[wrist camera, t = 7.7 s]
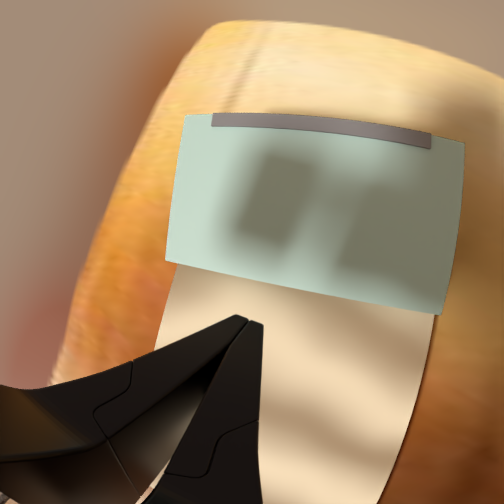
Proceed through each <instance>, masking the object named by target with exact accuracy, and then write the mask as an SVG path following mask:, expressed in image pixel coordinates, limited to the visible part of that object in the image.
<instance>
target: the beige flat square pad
mask: <svg viewBox="0 0 504 504" xmlns="http://www.w3.org/2000/svg"><path fill="white" fill-rule="evenodd" d="M234 314H238V315H240V316H243V317H246V318H248V319H249V321H250V320H254V321H256V322H259V323H262V324H263V325H264V337H263V359H262V379H261V399H260V417H259V443H258V455H259V470H260V480H261V489H262V498H263V504H377V502H378V500H379V497H380V495H381V493H382V491H383V489H384V487H385V484H386V482H387V480H388V477H389V475H390V473H391V470H392V468H393V465H394V463H395V460H396V458H397V455H398V452H399V450H400V447H401V444H402V442H403V439H404V436H405V433H406V430H407V427H408V424H409V421H410V418H411V414H412V411H413V408H414V404H415V401H416V397H417V394H418V390H419V386H420V383H421V379H422V375H423V370H424V366H425V362H426V357H427V353H428V348H429V343H430V338H431V332H432V326H433V321H434V314H429V313H423V312H417V311H412V310H406V309H400V308H395V307H389V306H384V305H378V304H373V303H367V302H362V301H357V300H351V299H346V298H341V297H336V296H330V295H325V294H320V293H315V292H310V291H305V290H300V289H295V288H290V287H285V286H280V285H276V284H271V283H266V282H261V281H256V280H252V279H247V278H242V277H238V276H233V275H228V274H224V273H219V272H215V271H210V270H205V269H201V268H196V267H192V266H188V265H183V264H179V263H178V265H177V268H176V272H175V275H174V279H173V282H172V285H171V289H170V292H169V296H168V300H167V303H166V307H165V310H164V314H163V318H162V321H161V325H160V329H159V333H158V337H157V341H156V345H155V348H154V351H155V350H157V349H159V348H162V347H164V346H166V345H168V344H171V343H173V342H175V341H177V340H180V339H182V338H184V337H186V336H189V335H191V334H193V333H195V332H197V331H200V330H202V329H204V328H206V327H208V326H211V325H213V324H215V323H217V322H219V321H221V320H223V319H226V318H228V317H230V316H232V315H234ZM169 461H170V460H169ZM168 463H169V462H168ZM168 463H167V464H166V466H165V467H164V468H163V469H162V471H161V472H160V473H159V474H158V476H157V477H156V478H155V480H154V481H153V482H152V483H151V485H150V487H152V488H155V486H156V485H157V483H158V481H159V480H160V478H161V476H162V475H163V474H164V470H165V469H166V467H167V465H168Z"/></svg>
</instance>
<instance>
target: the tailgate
mask: <svg viewBox="0 0 504 504" xmlns="http://www.w3.org/2000/svg"><path fill="white" fill-rule="evenodd" d="M464 155H465V143H463V142H459V141H455V140H451V139H446V138H442V137H438V136H433V135H431V134H430V133H425V132H421V131H416V130H411V129H405V128H400V127H394V126H388V125H382V124H376V123H369V122H362V121H354V120H346V119H337V118H328V117H317V116H304V115H289V114H268V113H213V114H198V115H185V120H184V126H183V131H182V137H181V143H180V149H179V155H178V161H177V168H176V174H175V181H174V188H173V196H172V203H171V211H170V219H169V228H168V237H167V247H166V257H165V260H166V261H170V262H174V263H179V264H183V265H188V266H192V267H196V268H201V269H205V270H210V271H215V272H219V273H224V274H228V275H233V276H238V277H242V278H247V279H252V280H256V281H261V282H266V283H271V284H276V285H280V286H285V287H290V288H295V289H300V290H305V291H310V292H315V293H320V294H325V295H330V296H336V297H341V298H346V299H351V300H357V301H362V302H367V303H373V304H378V305H384V306H389V307H395V308H400V309H406V310H412V311H417V312H423V313H429V314H435V315H441V314H442V310H443V306H444V302H445V298H446V294H447V289H448V285H449V280H450V275H451V271H452V265H453V260H454V254H455V249H456V242H457V236H458V229H459V221H460V213H461V203H462V192H463V178H464Z"/></svg>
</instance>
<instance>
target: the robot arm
mask: <svg viewBox="0 0 504 504" xmlns="http://www.w3.org/2000/svg"><path fill="white" fill-rule="evenodd" d="M263 337H264V325H263V324H262V323H259V322H256V321H254V320H250V321H249V319H248V318H246V317H243V316H240V315H238V314H234V315H232V316H230V317H228V318H226V319H223V320H221V321H219V322H217V323H215V324H213V325H211V326H208V327H206V328H204V329H202V330H200V331H197V332H195V333H193V334H191V335H189V336H186V337H184V338H182V339H180V340H177V341H175V342H173V343H171V344H168V345H166V346H164V347H162V348H159V349H157V350H155V351H152V352H150V353H148V354H145V355H143V356H141V357H138V358H136V359H134V360H133V361H128V362H126V363H124V364H121V365H119V366H116V367H114V368H111V369H108V370H106V371H103V372H100V373H97V374H93V375H90V376H87V377H83V378H80V379H76V380H72V381H68V382H64V383H61V384H57V385H53V386H48V387H45V388H40V389H17V388H12V387H8V386H4V385H0V504H135V503H136V502H137V501H138V500H139V498H140V496H142V495H143V493H144V492H145V491H146V490H147V488H148V487H149V486H150V485H151V483H152V482H153V481H154V480H155V478H156V477H157V476H158V474H159V473H160V472H161V471H162V469H163V468H164V467H165V466H166V464H167V463H168V462H169V463H168V465H167V467H166V469H165V470H164V474H163V475H162V476H161V478H160V480H159V481H158V483H157V485H156V486H155V488H154V489H153V491H152V492H151V493H150V494H149V496H148V497H147V498H146V499H145V500H144V501H143V502H142V503H141V504H263V498H262V489H261V480H260V470H259V455H258V443H259V417H260V399H261V379H262V359H263ZM169 460H170V461H169Z"/></svg>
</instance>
